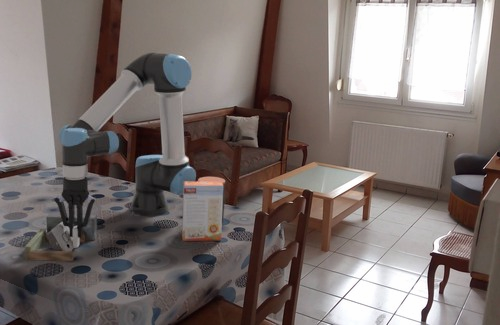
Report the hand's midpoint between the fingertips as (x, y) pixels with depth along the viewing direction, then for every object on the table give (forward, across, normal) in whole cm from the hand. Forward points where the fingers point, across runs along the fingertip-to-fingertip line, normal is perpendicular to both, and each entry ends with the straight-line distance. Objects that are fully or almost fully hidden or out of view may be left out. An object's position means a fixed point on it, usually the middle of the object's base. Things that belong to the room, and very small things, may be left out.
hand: (76, 245), depth 170 cm
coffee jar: (+2, -44, -29) cm, 53 cm away
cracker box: (+2, -41, -14) cm, 43 cm away
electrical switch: (+2, +3, +1) cm, 4 cm away
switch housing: (+1, +4, -11) cm, 12 cm away
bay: (+2, +6, 0) cm, 6 cm away
